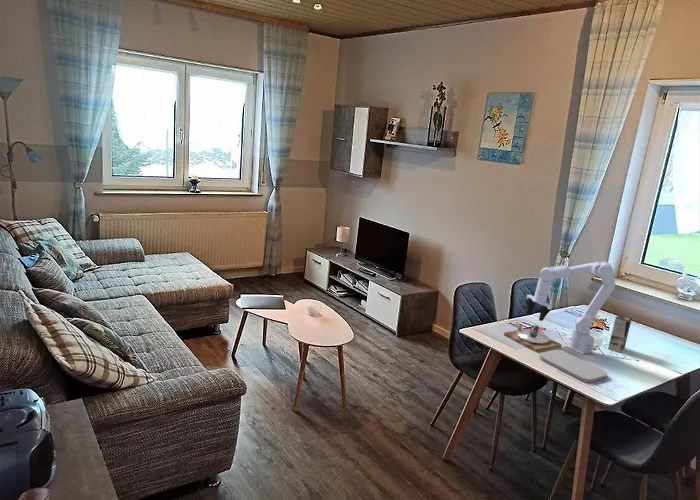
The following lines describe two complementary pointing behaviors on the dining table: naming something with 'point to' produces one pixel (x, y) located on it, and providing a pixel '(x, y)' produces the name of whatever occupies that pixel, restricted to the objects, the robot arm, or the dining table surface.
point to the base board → (532, 346)
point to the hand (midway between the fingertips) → (535, 317)
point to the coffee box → (619, 333)
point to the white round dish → (537, 339)
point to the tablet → (573, 365)
